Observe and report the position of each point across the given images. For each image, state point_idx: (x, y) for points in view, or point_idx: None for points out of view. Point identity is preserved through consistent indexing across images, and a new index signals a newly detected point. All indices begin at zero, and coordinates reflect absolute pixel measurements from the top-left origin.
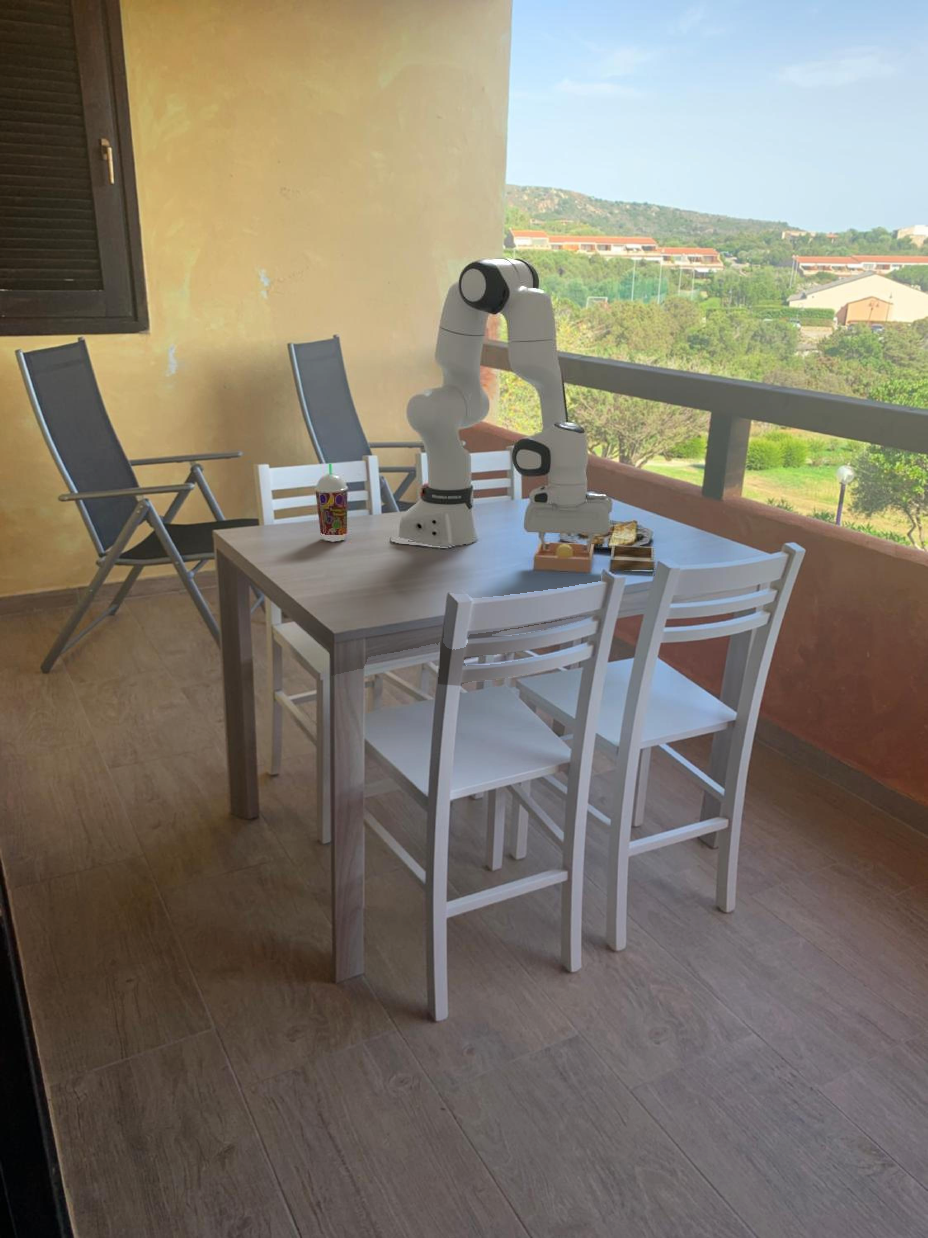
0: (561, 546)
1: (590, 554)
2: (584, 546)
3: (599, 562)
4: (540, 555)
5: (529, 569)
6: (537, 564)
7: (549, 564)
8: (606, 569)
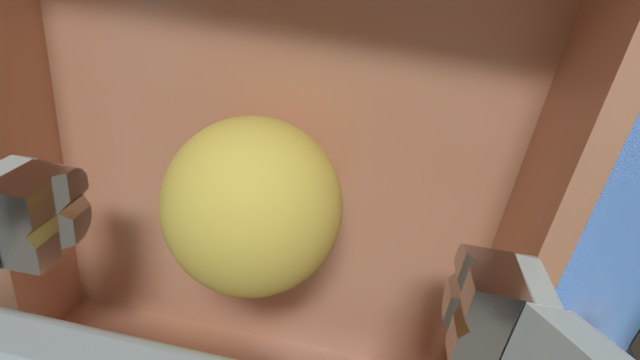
0: (193, 272)
1: None
2: (464, 355)
3: (617, 159)
4: (40, 30)
5: None
6: None
7: None
8: (607, 331)
